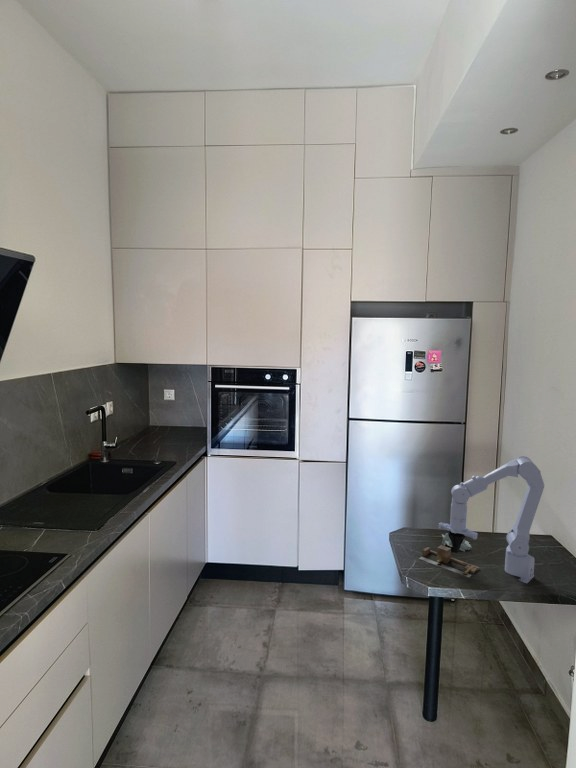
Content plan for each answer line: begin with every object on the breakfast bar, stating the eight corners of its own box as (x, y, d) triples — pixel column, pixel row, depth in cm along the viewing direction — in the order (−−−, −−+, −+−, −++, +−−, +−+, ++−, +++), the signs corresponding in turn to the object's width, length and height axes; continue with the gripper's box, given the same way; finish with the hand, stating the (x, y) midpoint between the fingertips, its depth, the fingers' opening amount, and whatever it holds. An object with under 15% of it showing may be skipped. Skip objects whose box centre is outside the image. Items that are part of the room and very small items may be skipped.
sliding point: (450, 560, 186) (450, 548, 186) (442, 566, 182) (443, 553, 181) (440, 557, 189) (441, 545, 189) (432, 562, 185) (433, 549, 184)
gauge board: (482, 573, 180) (482, 564, 179) (470, 582, 173) (471, 573, 172) (428, 554, 195) (428, 545, 195) (415, 561, 188) (415, 552, 188)
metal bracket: (448, 542, 194) (440, 527, 209) (443, 555, 194) (435, 540, 209) (482, 554, 193) (472, 539, 208) (477, 567, 194) (467, 551, 208)
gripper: (435, 514, 185) (433, 548, 186) (472, 525, 175) (470, 561, 176) (443, 510, 190) (442, 543, 191) (480, 520, 180) (478, 555, 182)
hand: (456, 551), depth 184 cm, fingers closed
